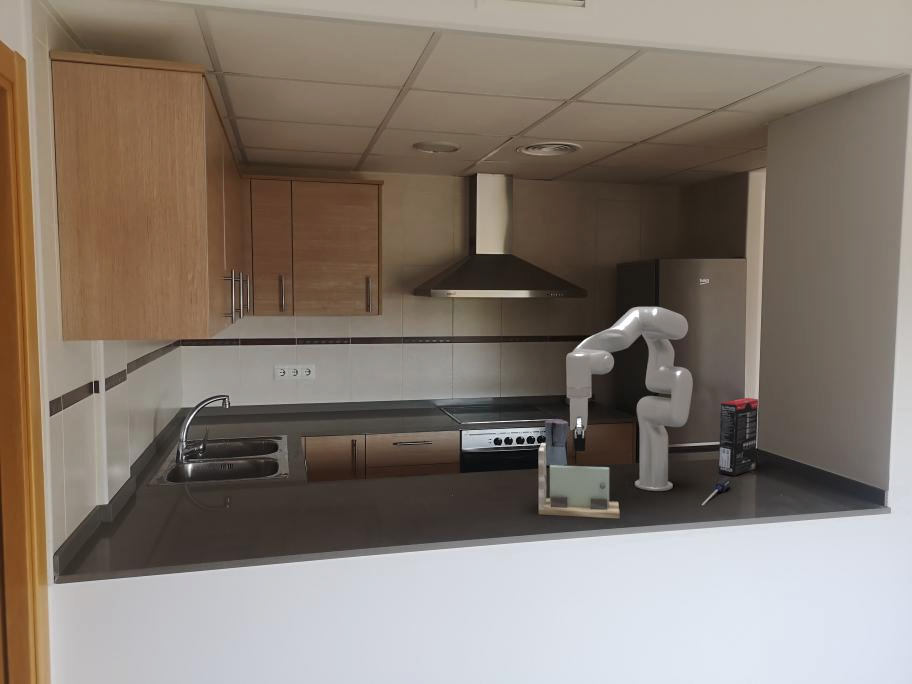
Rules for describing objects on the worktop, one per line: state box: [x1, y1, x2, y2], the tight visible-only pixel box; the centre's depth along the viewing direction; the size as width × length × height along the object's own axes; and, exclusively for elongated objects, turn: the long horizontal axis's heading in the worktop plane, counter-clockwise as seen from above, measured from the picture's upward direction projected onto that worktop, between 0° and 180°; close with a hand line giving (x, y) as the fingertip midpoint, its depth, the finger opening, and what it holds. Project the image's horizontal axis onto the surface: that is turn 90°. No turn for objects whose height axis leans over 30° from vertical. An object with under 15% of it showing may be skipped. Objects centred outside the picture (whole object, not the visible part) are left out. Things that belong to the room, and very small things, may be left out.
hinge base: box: [537, 442, 621, 520], centre depth 204 cm, size 12×24×20 cm, turn 78°
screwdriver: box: [701, 476, 732, 506], centre depth 218 cm, size 26×4×4 cm, turn 141°
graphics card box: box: [718, 397, 759, 477], centre depth 247 cm, size 17×7×27 cm, turn 130°
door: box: [549, 465, 610, 508], centre depth 203 cm, size 4×18×12 cm, turn 78°
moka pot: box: [544, 414, 569, 467], centre depth 260 cm, size 10×15×20 cm, turn 164°
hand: (580, 447), depth 203 cm, fingers open, 9 cm apart
